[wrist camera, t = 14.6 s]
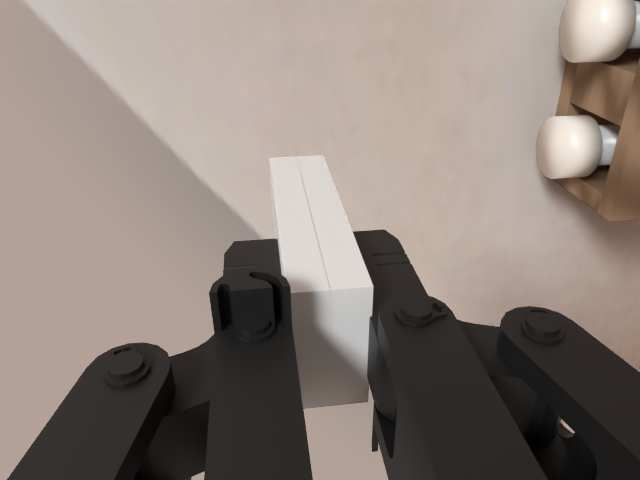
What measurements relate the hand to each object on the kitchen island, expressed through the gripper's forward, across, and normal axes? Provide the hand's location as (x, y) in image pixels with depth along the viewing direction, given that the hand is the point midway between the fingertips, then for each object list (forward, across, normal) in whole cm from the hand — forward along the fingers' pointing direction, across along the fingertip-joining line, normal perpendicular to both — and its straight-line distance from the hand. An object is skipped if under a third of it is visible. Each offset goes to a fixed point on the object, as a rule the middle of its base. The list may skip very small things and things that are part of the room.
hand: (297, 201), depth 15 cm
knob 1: (+24, +27, +1) cm, 36 cm away
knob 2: (+24, +27, -7) cm, 37 cm away
